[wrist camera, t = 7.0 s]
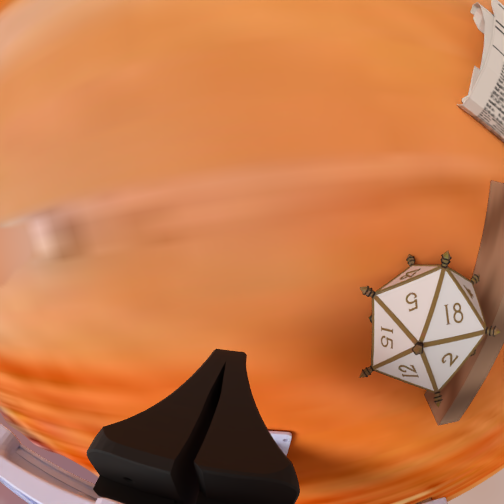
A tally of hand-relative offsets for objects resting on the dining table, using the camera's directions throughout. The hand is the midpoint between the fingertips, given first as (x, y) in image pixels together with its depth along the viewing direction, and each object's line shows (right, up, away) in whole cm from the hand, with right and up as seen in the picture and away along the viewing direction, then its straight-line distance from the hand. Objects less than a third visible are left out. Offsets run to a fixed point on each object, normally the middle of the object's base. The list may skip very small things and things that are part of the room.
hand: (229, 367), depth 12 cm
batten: (+18, +1, +5) cm, 19 cm away
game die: (+11, +2, +6) cm, 13 cm away
